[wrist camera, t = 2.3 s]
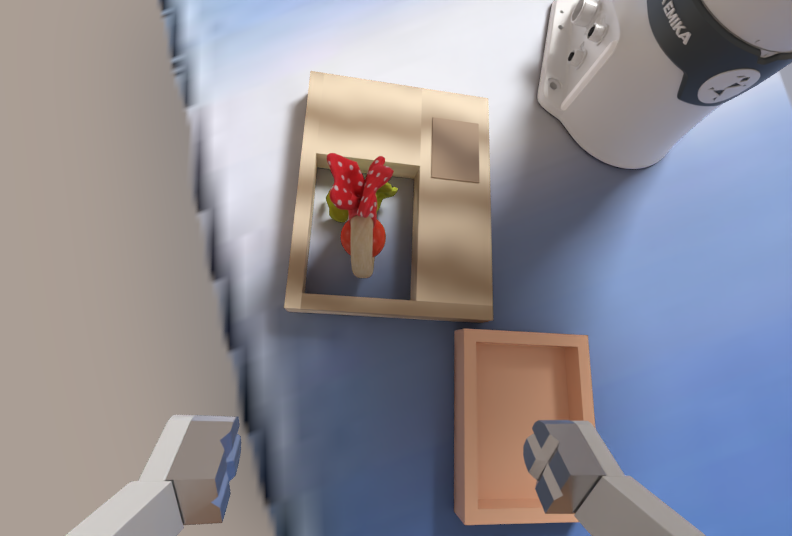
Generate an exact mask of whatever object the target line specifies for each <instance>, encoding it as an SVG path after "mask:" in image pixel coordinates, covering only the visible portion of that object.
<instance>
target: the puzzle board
mask: <svg viewBox="0 0 792 536" xmlns="http://www.w3.org/2000/svg"><path fill="white" fill-rule="evenodd" d="M329 153H336V154H338V155H341V156H343V157H345V158H347V159H349V160H352V161H356V162H357V163H358V165H359V168H360V170H361V173H368V170H369V167H370V165H371V164H372V162H373V161H374V160H375V159H376V158H377V157H379V156H383V157H385V163H384V165H383V166H388V167H390V168H391V169H392V170H393V171H394V172H393V175H392V176H394V177H403V178H411V179H414V197H413V229H412V261H411V294H410V300H397V299H382V298H367V297H352V296H337V295H322V294H306V293H305V285H306V275H307V265H308V255H309V245H310V235H311V225H312V215H313V205H314V195H315V185H316V175H317V168H326V169H330V167H329V164H328V162H327V155H328V154H329ZM284 308H285V309H286V310H287V311H288V312H302V313H319V314H336V315H353V316H371V317H388V318H405V319H422V320H439V321H456V322H473V323H484V322H488V321H492V320H493V289H492V244H491V199H490V154H489V110H488V98H483V97H476V96H470V95H463V94H457V93H450V92H444V91H437V90H431V89H424V88H418V87H411V86H405V85H398V84H392V83H385V82H379V81H372V80H366V79H360V78H353V77H347V76H340V75H334V74H327V73H321V72H314V71H311V72H310V81H309V90H308V99H307V107H306V116H305V125H304V134H303V143H302V152H301V161H300V170H299V179H298V188H297V197H296V206H295V215H294V224H293V232H292V241H291V250H290V259H289V268H288V277H287V286H286V295H285V304H284Z"/></svg>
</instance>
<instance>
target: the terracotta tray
mask: <svg viewBox="0 0 792 536" xmlns="http://www.w3.org/2000/svg"><path fill="white" fill-rule="evenodd" d="M538 420H570V421H589V422H590V423H591V424H592V425H593V426H594V428H595V418H594V406H593V393H592V381H591V369H590V357H589V345H588V335H572V334H554V333H536V332H518V331H500V330H482V329H459V330H455V331H454V512H455V513H456V515H457V516H458V517H459V518H460V520H461V521H462V522H463V523H464V525H488V524H524V523H561V522H579V521H578V520H577V519H576V517H575V516H574V515H575V514H545V512H544V509H543V507H542V505H541V502H540V500H539V497H538V495H537V492H536V490H535V486H536V482H537V480H536V479H535V478H534V477H533V476H532V475H530V474H529V473H528V470H527V468H526V465H525V462H524V457H523V445H524V443H525V441H526V439H527V438H528V437H529V436H531V435H532V434H534V432H533V430H532V427H533V425H534V423H535V422H536V421H538Z"/></svg>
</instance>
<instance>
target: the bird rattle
mask: <svg viewBox="0 0 792 536" xmlns="http://www.w3.org/2000/svg"><path fill="white" fill-rule="evenodd" d="M327 162H328V164H329V167H330V170H331V173H332V175H333V177H334V185H333V187H332V188H331V190H330V191H329V193H328V195H327V197H326V201H327V204H328V206H329V215H330V217H331V218H332V219H333V220H335V221H338V222H342V223H344V222H345V221H347V220H348V221H347V222H346V223H345V225H344V226H343V228H342V231H341V243H342V246H343V248H344V249H345V251H346V252H347V253H348V254H349V255H351V265H352V271H353V274H354V275H355V276H356V277H358V278H368V277H370V276H371V275H372V273H373V268H374V259H375V256H376V255H378V254H379V253H380V252H381V250H382V249H383V247H384V244H385V240H386V234H385V230H384V227H383V225H382V224H381V223H380V222H379V221H378V220H377V211H378V210H379V208H380V205H381V202H382V200H383V199H384V198H387V197H393V196H394V195H395V194H396V192H397V191H398V188H396V187H392V186H391V184H389V183H387V182H388V181H389V180H390V178H391V177H392V175H393V172H394V171H393V170H392V169H391V168H390V167H388V166H383V165H384V163H385V157H383V156H379V157H377V158H376V159H375V160H374V161H373V162H372V164H371V165H370V167H369V170H368V174H367V176H366V179H364V177H363V174H362V173H361V170H360V168H359V165H358V163H357V162H356V161H352V160H349V159H347V158H345V157H343V156H341V155H338V154H336V153H329V154H328V155H327Z"/></svg>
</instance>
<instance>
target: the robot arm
mask: <svg viewBox="0 0 792 536" xmlns="http://www.w3.org/2000/svg"><path fill="white" fill-rule="evenodd" d="M791 62H792V0H554V1H553V3H552V6H551V12H550V18H549V25H548V31H547V37H546V44H545V50H544V56H543V63H542V69H541V75H540V82H539V88H538V94H537V98H538V102H539V103H540V105H541V106H542V107H543V108H544V109H545V110H547V111H548V112H549V113H551V114H552V115H553V116H555V117H556V118H558V119H559V120H560V121H561V122H562V124H563V125H564V126H565V128H566V129H567V130H568V132H569V133H570V135H571V136H572V137H573V139H574V140H575V141H576V142H577V143H578V144H579V145H580V146H581V147H582V148H583V149H584V150H585V151H587V152H588V153H589V154H591V155H592V156H594V157H595V158H597V159H599V160H601V161H603V162H605V163H607V164H610V165H612V166H616V167H620V168H626V169H639V168H645V167H648V166H651V165H653V164H655V163H657V162H658V161H660V160H661V159H662V158H663V157H664V156H665V155H666V154H667V153H668V152H669V151H670V149H671V148H672V147H673V146H674V145H675V144H676V143H677V142H678V141H679V140H680V139H681V138H682V137H684V136H685V135H686V134H687V133H688V132H689V131H690V130H691V129H693V128H694V127H695V126H696V125H697V124H698V123H700V122H701V121H702V120H703V119H704V118H706V117H707V116H708V115H709V114H710V113H712V112H713V111H714V110H715V109H717V108H718V107H719V106H720V105H722V104H723V103H725V102H727V101H729V100H731V99H733V98H735V97H737V96H738V95H740V94H742V93H744V92H746V91H748V90H749V89H751V88H753V87H755V86H756V85H758V84H760V83H761V82H763V81H764V80H766V79H767V78H769V77H770V76H772V75H774V74H775V73H777V72H778V71H780V70H781V69H783V68H784V67H785V66H787V65H788V64H790V63H791ZM238 429H239V418H238V417H231V416H229V417H228V416H202V415H173V416H172V417H171V418H170V419H169V420H168V421H167V423H166V425H165V427H164V429H163V431H162V433H161V435H160V437H159V439H158V441H157V443H156V445H155V447H154V449H153V451H152V453H151V455H150V457H149V459H148V462H147V463H146V465H145V468H144V469H143V472H142V473H141V475H140V477H139V480H138V481H131V482H129V483H128V484H127V485H126V486H124V487H123V488H122V489H121V490H120V491H119V492H117V493H116V494H115V495H114V496H112V497H111V498H110V499H109V500H107V501H106V502H105V503H104V504H103V505H102V506H100V507H99V508H98V509H97V510H95V511H94V512H93V513H92V514H90V515H89V516H88V517H87V518H86V519H84V520H83V521H82V522H81V523H80V524H78V525H77V526H76V527H75V528H74V529H72V530H71V531H70V532H69V533H67V534H66V535H65V536H177V535H178V534H179V533H180V531H181V530H182V529H183V528H184V527H183V525H196V524H212V523H222V522H223V519H224V515H225V512H226V508H227V504H228V501H229V497H230V486H229V481H230V480H231V479H232V478H233V477H234V476H235V475H236V472H237V468H238V464H239V458H240V453H241V436H240V435H238V434H237V432H238ZM532 430H533V432H534V434H532V435H531V436H529V437H528V438H527V439H526V441H525V443H524V445H523V457H524V462H525V465H526V468H527V470H528V473H529V474H530V475H532V476H533V477H534V478H535V479H536V480H537V482H536V486H535V490H536V492H537V495H538V497H539V500H540V502H541V505H542V507H543V509H544V512H545V514H575V515H574V516H575V517H576V519H577V520H578V521H579V522H580V523H581V524H582V525H583V526H584V527H585V529H586V530H587V531H588V532H589V533H590V534H591V535H592V536H706V535H704V534H703V533H702V532H701V531H699V530H698V529H697V528H695V527H694V526H693V525H692V524H690V523H689V522H688V521H687V520H685V519H684V518H683V517H682V516H680V515H679V514H678V513H676V512H675V511H674V510H673V509H671V508H670V507H669V506H668V505H666V504H665V503H664V502H662V501H661V500H660V499H659V498H657V497H656V496H655V495H654V494H652V493H651V492H650V491H649V490H647V489H646V488H645V487H643V486H642V485H641V484H640V483H638V482H637V481H636V480H635V479H633V478H632V477H631V476H625V475H624V473H623V472H622V470H621V469H620V467H619V465H618V464H617V462H616V461H615V459H614V458H613V456H612V454H611V453H610V451H609V450H608V448H607V446H606V445H605V443H604V442H603V440H602V439H601V437H600V435H599V434H598V432H597V431H596V429H595V428H594V426H593V425H592V424H591V423H590V422H589V421H570V420H538V421H536V422H535V423H534V425H533V427H532Z"/></svg>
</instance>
